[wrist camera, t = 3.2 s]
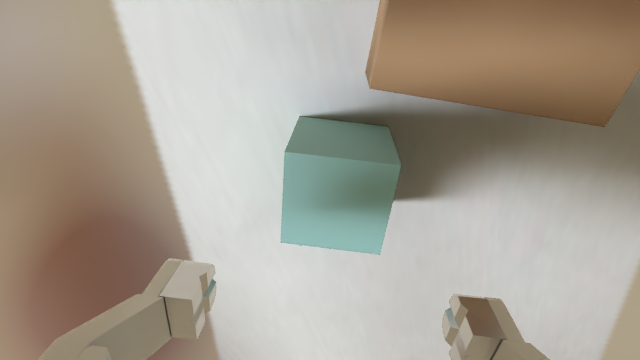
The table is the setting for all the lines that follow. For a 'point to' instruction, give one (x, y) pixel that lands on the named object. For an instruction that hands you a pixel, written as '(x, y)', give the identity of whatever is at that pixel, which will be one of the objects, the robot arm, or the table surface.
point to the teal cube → (338, 185)
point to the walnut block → (510, 54)
